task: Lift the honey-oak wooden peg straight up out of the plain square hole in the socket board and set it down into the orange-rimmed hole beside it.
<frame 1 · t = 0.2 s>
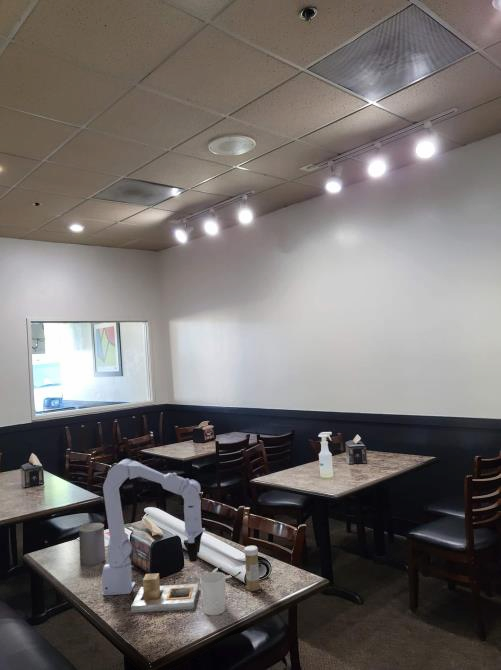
hand: (194, 556, 169), 10 cm above the table, tool pointing down, fingers open, 7 cm apart
socket board: (166, 600, 159), on the table
peg: (152, 601, 159), resting in socket board
white cup: (214, 610, 151), on the table
pliers: (217, 579, 174), on the table
sprinkles bottle: (253, 588, 164), on the table
pillar candle: (93, 561, 197), on the table
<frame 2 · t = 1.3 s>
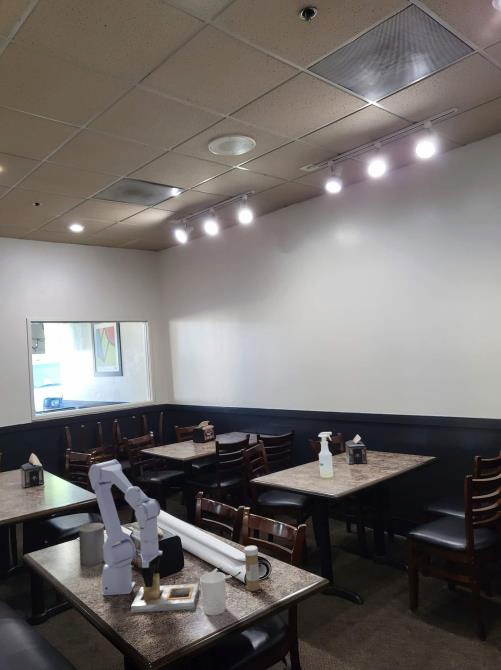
hand: (151, 581, 160), 6 cm above the table, tool pointing down, fingers open, 7 cm apart
nothing on the table moved.
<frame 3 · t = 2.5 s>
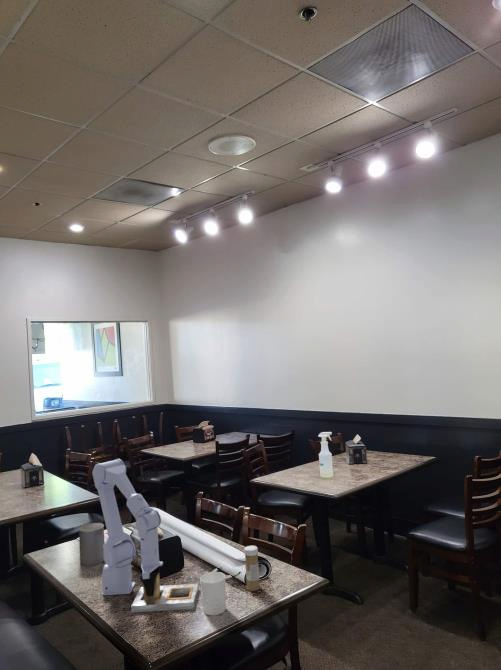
hand: (151, 592, 160), 3 cm above the table, tool pointing down, fingers closed on peg, 4 cm apart
peg: (152, 601, 159), resting in socket board, touching gripper
everything else where it was.
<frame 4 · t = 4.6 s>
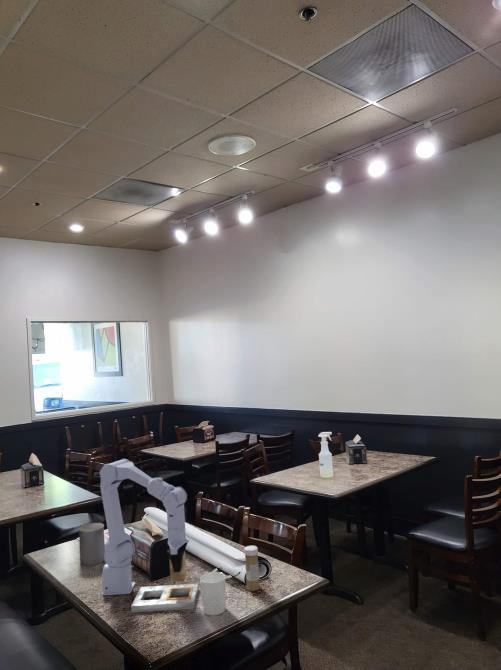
hand: (178, 568, 160), 10 cm above the table, tool pointing down, fingers closed on peg, 4 cm apart
peg: (178, 578, 160), point 7 cm above the table, touching gripper
everything else where it was.
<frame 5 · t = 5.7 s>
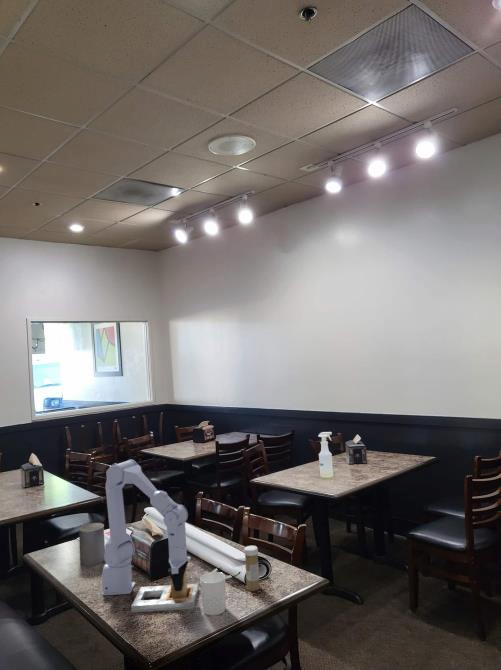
hand: (179, 587, 160), 4 cm above the table, tool pointing down, fingers closed on peg, 4 cm apart
peg: (179, 597, 159), point 1 cm above the table, touching gripper
everything else where it was.
when the fingers open (4 cm above the table, at t = 6.5 s): peg stays where it is, resting in socket board.
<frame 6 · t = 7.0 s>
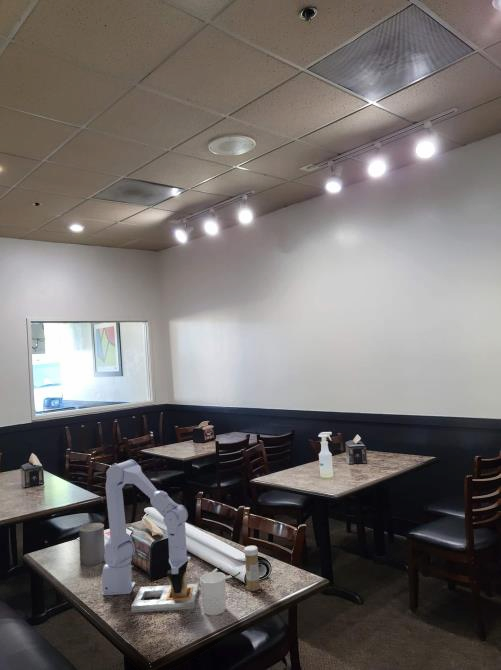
hand: (179, 587, 160), 4 cm above the table, tool pointing down, fingers open, 7 cm apart
peg: (179, 599, 159), resting in socket board
everything else where it was.
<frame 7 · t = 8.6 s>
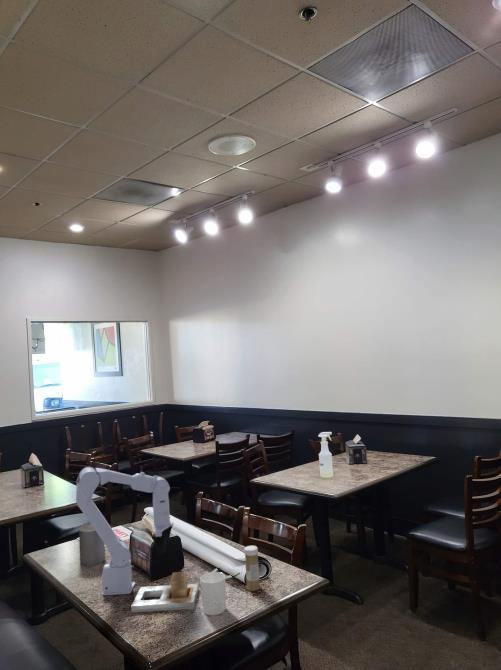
hand: (163, 549, 176), 10 cm above the table, tool pointing down, fingers open, 7 cm apart
nothing on the table moved.
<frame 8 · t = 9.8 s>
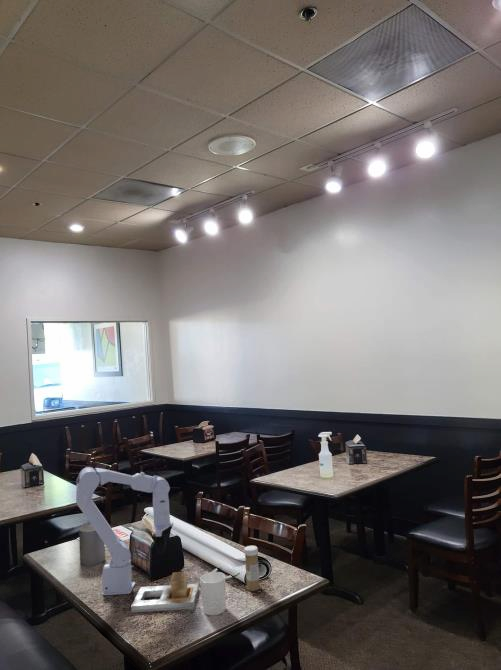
hand: (163, 549, 176), 10 cm above the table, tool pointing down, fingers open, 7 cm apart
nothing on the table moved.
at the end: peg 0.2 cm from the target spot on the socket board, point 0.0 cm above the socket board's base; peg tilted 0°; the gripper is holding nothing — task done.
